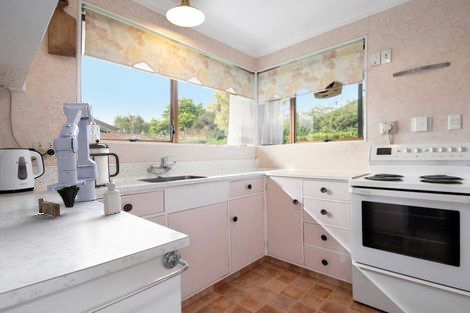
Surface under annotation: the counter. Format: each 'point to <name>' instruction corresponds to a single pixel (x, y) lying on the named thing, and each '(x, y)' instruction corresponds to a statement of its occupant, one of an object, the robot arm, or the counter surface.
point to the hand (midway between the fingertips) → (69, 207)
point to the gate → (51, 208)
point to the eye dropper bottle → (112, 199)
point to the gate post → (40, 204)
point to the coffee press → (102, 162)
